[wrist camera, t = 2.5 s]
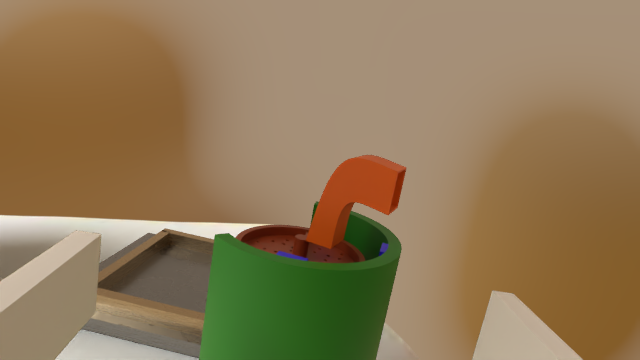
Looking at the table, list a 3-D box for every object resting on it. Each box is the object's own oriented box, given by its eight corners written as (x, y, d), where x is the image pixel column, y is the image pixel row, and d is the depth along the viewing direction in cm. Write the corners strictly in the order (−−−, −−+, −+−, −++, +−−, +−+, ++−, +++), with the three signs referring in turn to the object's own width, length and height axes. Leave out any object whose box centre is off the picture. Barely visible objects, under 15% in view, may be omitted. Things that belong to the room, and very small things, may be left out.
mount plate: (35, 317, 34) (36, 287, 34) (147, 241, 52) (149, 221, 51) (269, 375, 33) (275, 345, 32) (303, 277, 50) (307, 257, 50)
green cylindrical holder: (239, 391, 31) (285, 125, 26) (356, 434, 29) (426, 156, 24) (153, 523, 21) (204, 136, 17) (321, 600, 19) (428, 189, 15)
